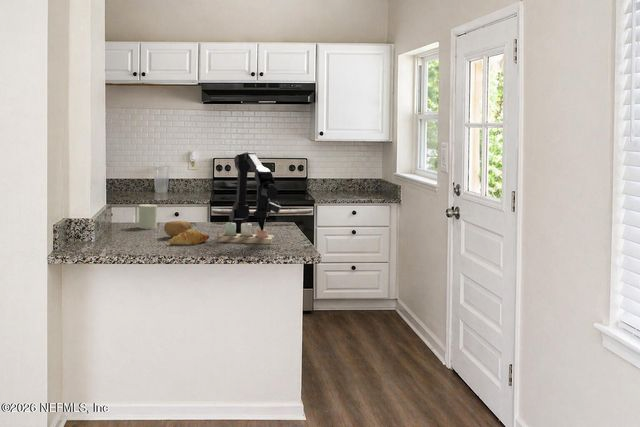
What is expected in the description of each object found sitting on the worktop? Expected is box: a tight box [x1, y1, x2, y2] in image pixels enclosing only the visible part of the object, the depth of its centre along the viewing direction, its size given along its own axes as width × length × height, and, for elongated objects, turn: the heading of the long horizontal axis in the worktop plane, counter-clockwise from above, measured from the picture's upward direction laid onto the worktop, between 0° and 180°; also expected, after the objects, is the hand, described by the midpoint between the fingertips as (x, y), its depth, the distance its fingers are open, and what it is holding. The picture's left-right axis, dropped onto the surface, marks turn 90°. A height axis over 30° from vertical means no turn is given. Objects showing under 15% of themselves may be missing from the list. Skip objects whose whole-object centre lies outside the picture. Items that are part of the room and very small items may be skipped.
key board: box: [217, 232, 275, 245], centre depth 380 cm, size 25×11×2 cm, turn 87°
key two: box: [241, 222, 253, 236], centre depth 380 cm, size 5×5×6 cm
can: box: [138, 203, 158, 230], centre depth 411 cm, size 9×9×12 cm
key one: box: [224, 222, 237, 236], centre depth 380 cm, size 5×5×6 cm
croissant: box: [168, 228, 210, 246], centre depth 368 cm, size 21×10×8 cm
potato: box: [163, 220, 192, 238], centre depth 384 cm, size 10×14×8 cm
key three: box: [256, 228, 268, 238], centre depth 380 cm, size 5×5×6 cm
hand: (262, 229), depth 380 cm, fingers closed, pressing on key three
